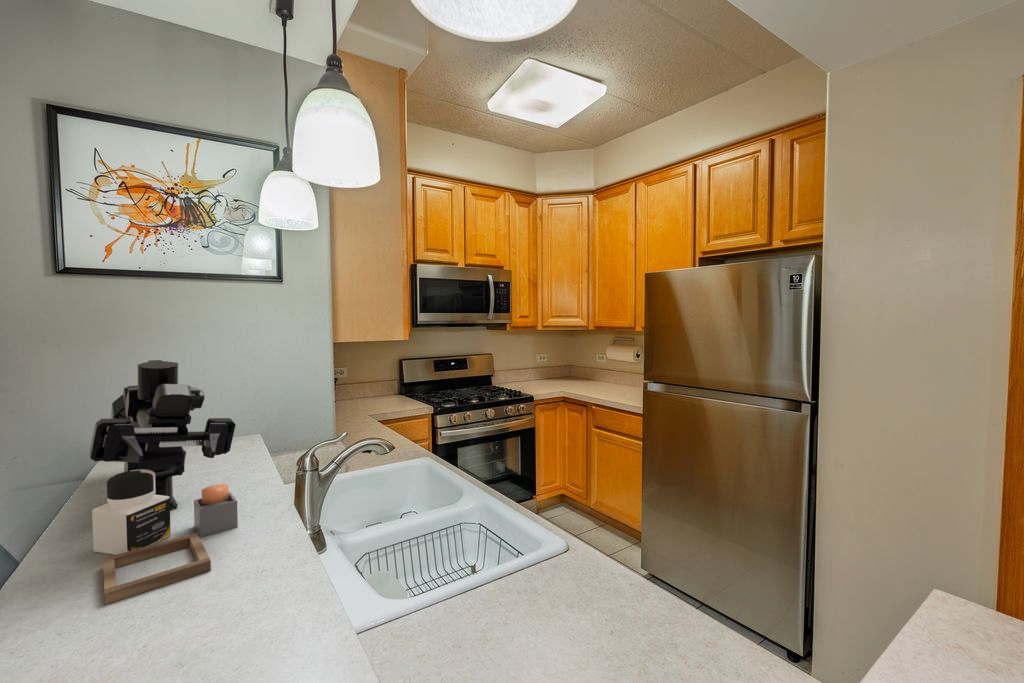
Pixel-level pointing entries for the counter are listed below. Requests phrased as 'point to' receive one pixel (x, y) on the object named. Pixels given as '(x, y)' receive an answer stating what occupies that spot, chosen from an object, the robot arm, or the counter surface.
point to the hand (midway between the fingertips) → (178, 457)
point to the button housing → (215, 516)
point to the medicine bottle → (131, 514)
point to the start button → (215, 494)
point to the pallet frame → (154, 580)
